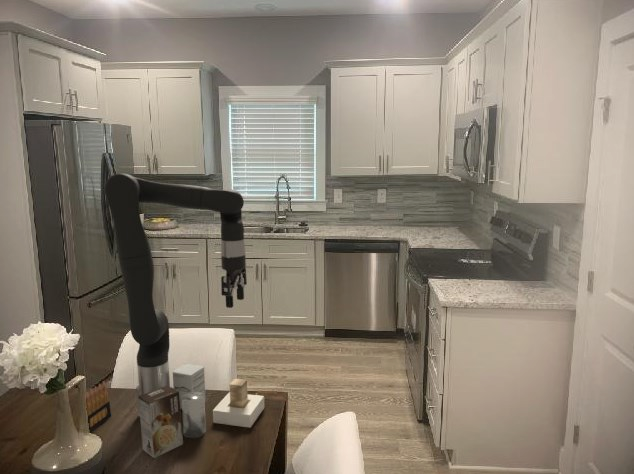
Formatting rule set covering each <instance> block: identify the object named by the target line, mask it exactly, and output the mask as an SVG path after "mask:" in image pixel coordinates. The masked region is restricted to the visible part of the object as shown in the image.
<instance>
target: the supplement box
mask: <svg viewBox="0 0 634 474" xmlns="http://www.w3.org/2000/svg"><path fill="white" fill-rule="evenodd" d="M205 380H206V379H205V366H202V365H196V364H191V363H184V364H182V365H181V366H179V367H178V368H176V369H175V370H174V371H172V383H173V384H172V386H173V387H172V388H174V389H175V390H177V391H179V398H180V410H182V400H181V398H182V396H183V395H185V394H187V393H191V392H200V393H203V394H204V401H205V403H206V381H205Z"/></svg>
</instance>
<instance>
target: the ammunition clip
mask: <svg viewBox="0 0 634 474" xmlns="http://www.w3.org/2000/svg"><path fill="white" fill-rule="evenodd" d="M107 390H108V389H107V384H106V382H105V381H104V380H103V381H102V384H101V383H98V387H97V386H96V385H95V386H94V389H92V388H91V389H90V390H89V391H86V393H85V399H86V408H87V415H88V423H89V430H90V433H91V432H92V431H94V430H95V429H96V428H98V427H99V426H100V425H102V424H103V423H105V421H107V420H109V419H110V418H112V411H111V410H112V409H111V404H110V401H109V395H108V394H109V393H108V391H107Z"/></svg>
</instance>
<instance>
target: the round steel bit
mask: <svg viewBox="0 0 634 474" xmlns="http://www.w3.org/2000/svg"><path fill="white" fill-rule="evenodd" d="M181 400H182V409H181V410H182V412H181V413H182V414H181V417H182V434H183V436H184V437H185V438H187V439H197V438H198V439H199V438H201V437H202V436H204V435H205V434H206V432H207V424H206V423H207V421H206V407H205V406H206V404H205V403H206V402H205V401H206V400H205V401H204V394H203V393H200V392H191V393H187V394H185V395H183V396H182V398H181Z"/></svg>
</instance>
